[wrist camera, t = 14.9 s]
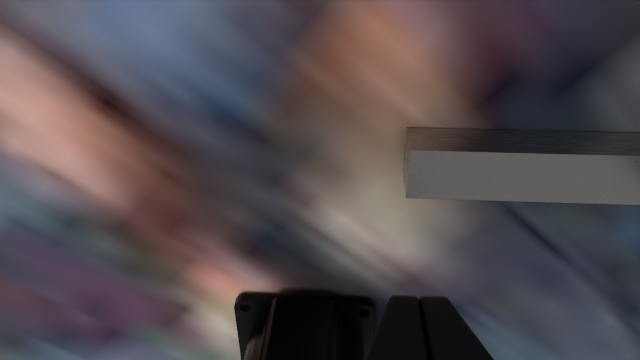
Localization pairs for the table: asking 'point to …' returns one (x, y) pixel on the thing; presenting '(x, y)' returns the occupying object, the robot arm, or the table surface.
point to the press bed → (523, 165)
